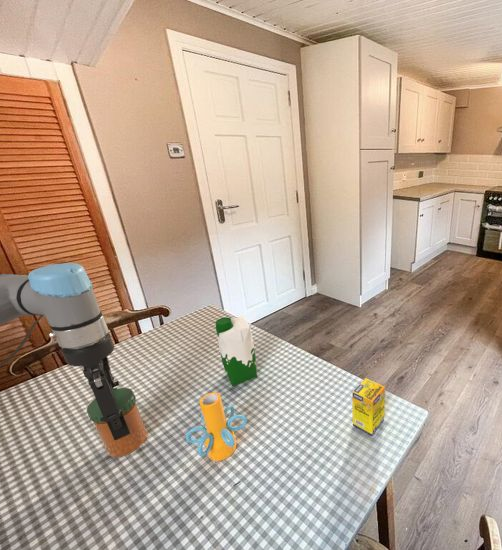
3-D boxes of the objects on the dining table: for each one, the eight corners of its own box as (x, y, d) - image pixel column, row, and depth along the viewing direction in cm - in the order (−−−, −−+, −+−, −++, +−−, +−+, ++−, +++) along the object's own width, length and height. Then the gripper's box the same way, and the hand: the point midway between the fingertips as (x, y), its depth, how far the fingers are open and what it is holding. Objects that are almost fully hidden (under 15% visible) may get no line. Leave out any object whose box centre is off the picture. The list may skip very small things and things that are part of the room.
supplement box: (372, 437, 72) (372, 402, 68) (352, 425, 76) (351, 391, 71) (384, 420, 77) (385, 386, 73) (365, 410, 80) (365, 377, 76)
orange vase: (190, 481, 63) (173, 428, 57) (194, 440, 72) (180, 391, 66) (252, 459, 67) (242, 408, 62) (249, 423, 76) (239, 376, 71)
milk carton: (223, 373, 94) (211, 316, 86) (253, 362, 98) (244, 308, 91) (229, 390, 87) (216, 330, 79) (261, 377, 92) (252, 320, 84)
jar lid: (107, 395, 71) (104, 388, 70) (143, 393, 71) (141, 386, 71) (79, 424, 63) (76, 417, 62) (121, 421, 64) (117, 414, 63)
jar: (106, 441, 72) (88, 403, 67) (144, 423, 76) (130, 386, 72) (108, 464, 66) (90, 424, 62) (149, 443, 71) (135, 405, 67)
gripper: (61, 325, 65) (96, 406, 74) (57, 374, 51) (102, 466, 60) (105, 314, 70) (133, 391, 79) (113, 355, 56) (147, 444, 64)
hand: (120, 423), depth 69 cm, fingers closed on jar lid, 8 cm apart
